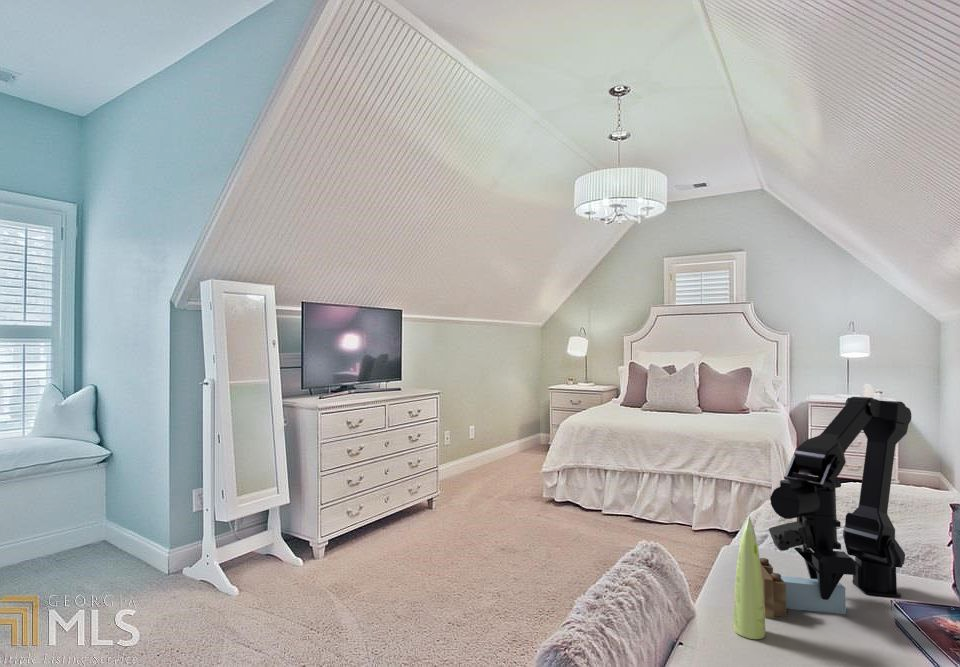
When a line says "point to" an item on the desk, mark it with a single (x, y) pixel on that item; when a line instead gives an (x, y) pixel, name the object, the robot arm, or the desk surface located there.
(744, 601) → the tube
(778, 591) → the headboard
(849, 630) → the desk surface
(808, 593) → the light blue rectangular block
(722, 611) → the desk surface
